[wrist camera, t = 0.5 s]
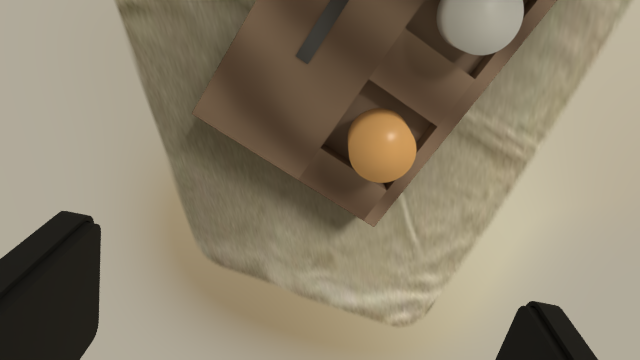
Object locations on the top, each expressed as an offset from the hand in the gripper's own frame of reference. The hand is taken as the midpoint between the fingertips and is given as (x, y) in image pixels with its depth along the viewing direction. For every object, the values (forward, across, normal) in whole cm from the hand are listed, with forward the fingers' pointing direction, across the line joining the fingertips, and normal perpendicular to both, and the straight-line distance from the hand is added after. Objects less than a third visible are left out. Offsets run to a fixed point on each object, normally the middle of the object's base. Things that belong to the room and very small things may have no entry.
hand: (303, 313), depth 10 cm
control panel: (+28, -2, -4) cm, 28 cm away
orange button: (+23, -4, +2) cm, 24 cm away
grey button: (+23, -8, -7) cm, 26 cm away
